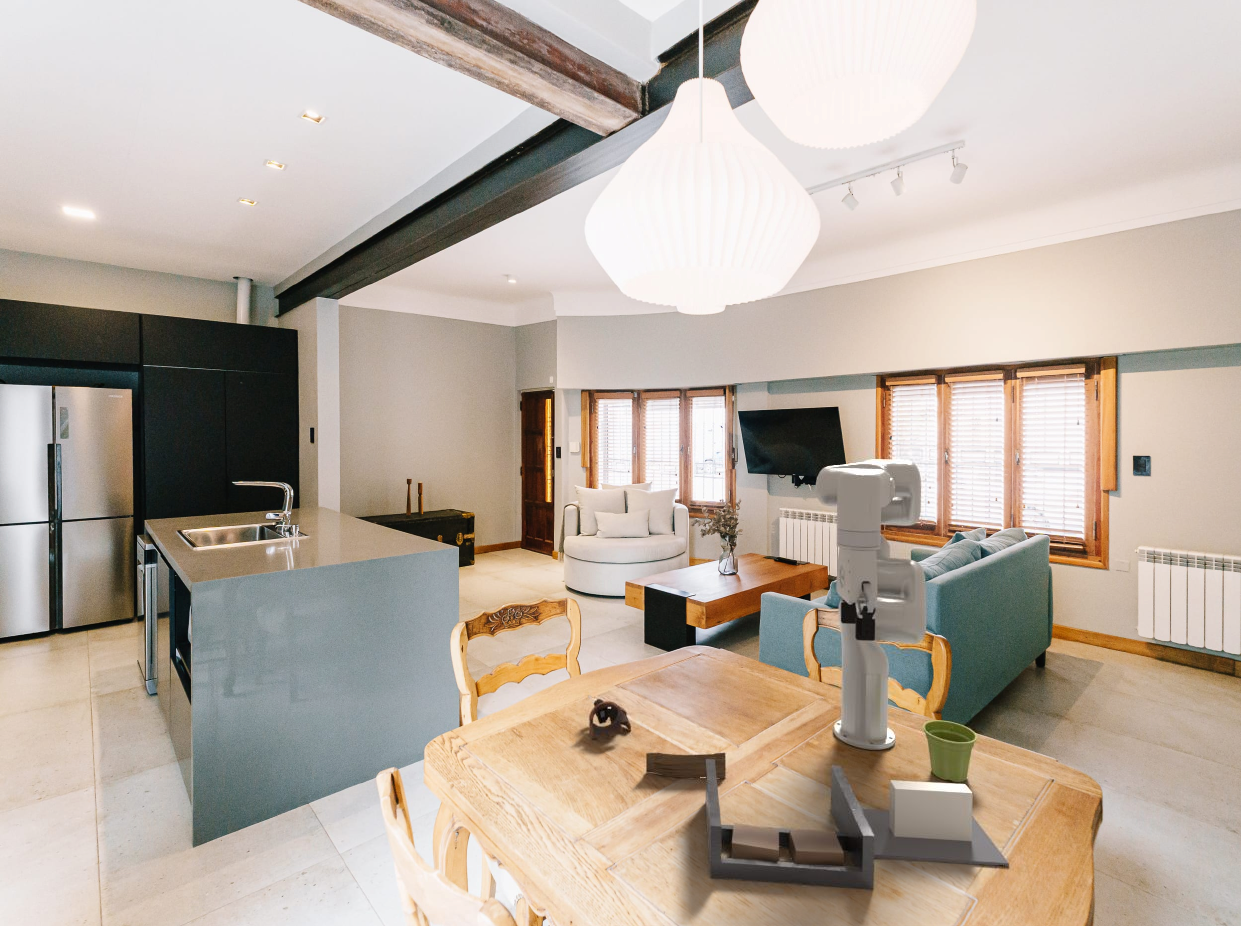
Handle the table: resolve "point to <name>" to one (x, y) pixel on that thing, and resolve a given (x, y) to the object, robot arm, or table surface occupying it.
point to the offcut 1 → (755, 843)
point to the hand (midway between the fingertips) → (857, 631)
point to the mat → (931, 844)
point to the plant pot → (949, 749)
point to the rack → (851, 837)
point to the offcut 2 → (815, 847)
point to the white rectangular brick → (931, 810)
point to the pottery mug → (603, 713)
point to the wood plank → (684, 765)
